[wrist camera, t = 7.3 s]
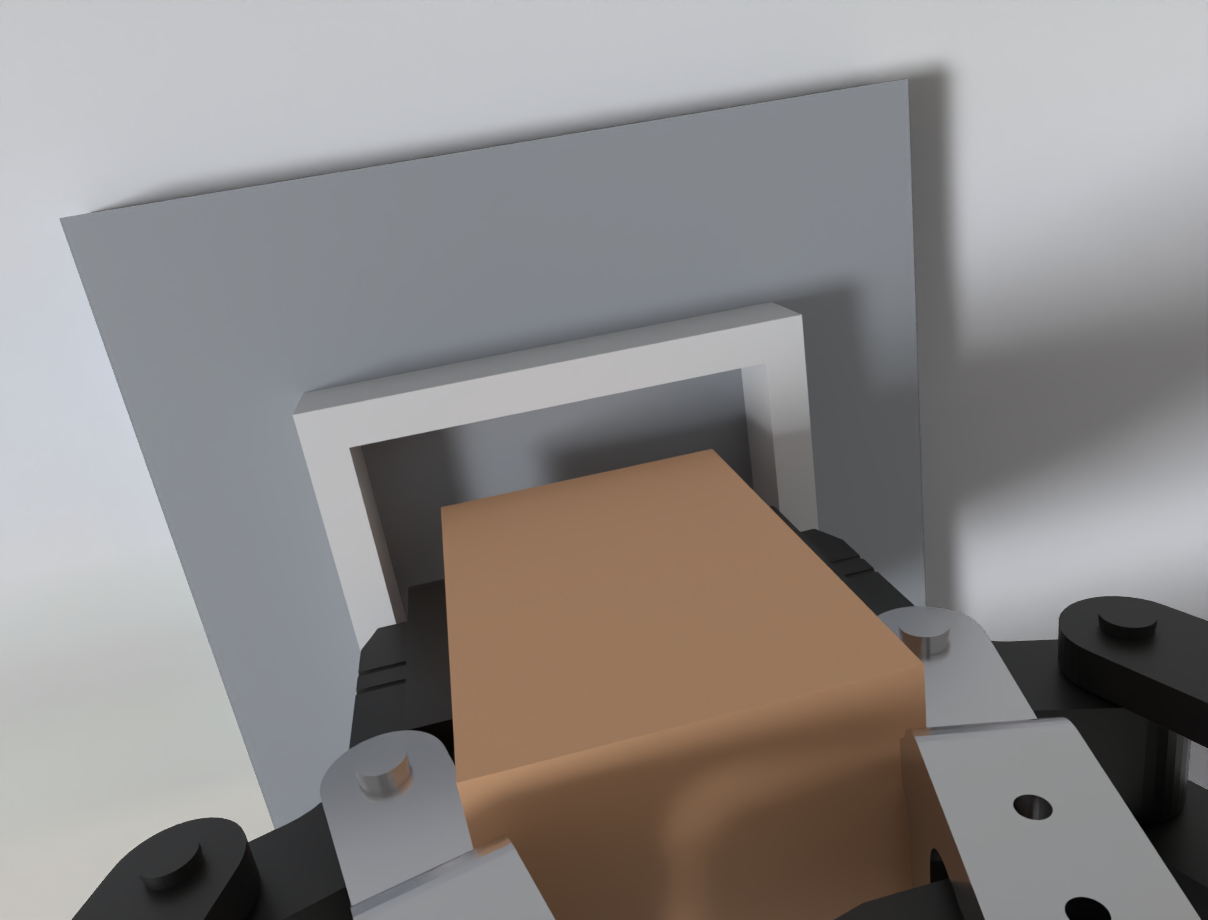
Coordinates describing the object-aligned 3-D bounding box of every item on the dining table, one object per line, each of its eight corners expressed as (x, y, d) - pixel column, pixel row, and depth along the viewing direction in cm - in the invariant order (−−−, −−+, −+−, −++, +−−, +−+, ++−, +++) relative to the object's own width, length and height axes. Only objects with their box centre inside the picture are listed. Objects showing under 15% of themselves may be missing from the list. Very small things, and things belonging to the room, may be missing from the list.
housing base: (85, 214, 13) (21, 225, 11) (876, 83, 14) (951, 72, 12) (436, 1237, 21) (437, 1356, 19) (921, 1084, 22) (971, 1178, 20)
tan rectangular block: (440, 506, 13) (456, 783, 7) (711, 449, 13) (923, 664, 8) (495, 739, 14) (545, 1122, 9) (739, 679, 15) (935, 1003, 9)
